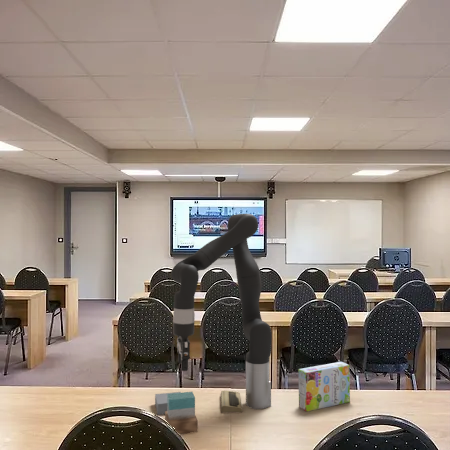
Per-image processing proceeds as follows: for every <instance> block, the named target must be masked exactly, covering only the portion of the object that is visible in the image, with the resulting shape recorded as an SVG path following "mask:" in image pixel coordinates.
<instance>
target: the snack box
mask: <svg viewBox="0 0 450 450" xmlns="http://www.w3.org/2000/svg"><path fill="white" fill-rule="evenodd" d="M297 378H298V407H299V408H301V410H303V411H305V412H310V411H315V410H316V411H317V410H320V409H325V408H328V407H334V406H337V405H341V404H347V403H350V402H351V389H350V388H351V387H350V385H351V384H350V383H351V380H350V378H351V376H350V364H348V363H346V362H343V361H336V362H332V363H327V364H319V365H315V366H309V367H304V368H298V377H297Z"/></svg>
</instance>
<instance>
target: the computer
mask: <svg viewBox="0 0 450 450" xmlns="http://www.w3.org/2000/svg"><path fill="white" fill-rule="evenodd" d="M220 413H221V414H226V413H227V414H229V413H231V414H232V413H235V414H236V413H237V414H239V413H243V406H242V398H241V393H240V392H239V391H233V390H232V391H231V390H221V392H220Z"/></svg>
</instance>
